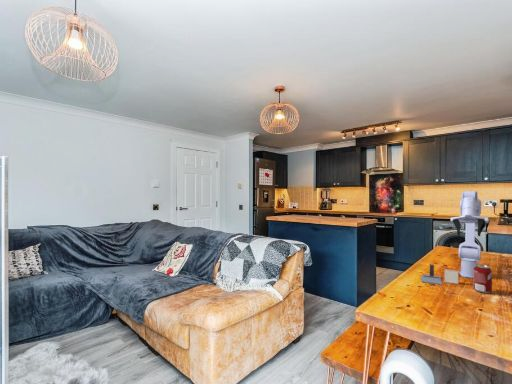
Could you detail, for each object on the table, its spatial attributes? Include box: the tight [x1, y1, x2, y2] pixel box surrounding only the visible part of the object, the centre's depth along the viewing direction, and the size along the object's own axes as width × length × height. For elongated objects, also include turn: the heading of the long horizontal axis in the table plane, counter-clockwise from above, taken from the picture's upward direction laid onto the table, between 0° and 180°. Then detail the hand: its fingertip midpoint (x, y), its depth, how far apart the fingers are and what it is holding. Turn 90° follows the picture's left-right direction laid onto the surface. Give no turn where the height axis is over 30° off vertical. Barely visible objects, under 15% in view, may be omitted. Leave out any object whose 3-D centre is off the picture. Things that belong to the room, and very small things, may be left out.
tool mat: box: [419, 275, 443, 286], centre depth 143 cm, size 9×9×1 cm
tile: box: [443, 268, 460, 285], centre depth 140 cm, size 2×6×6 cm, turn 63°
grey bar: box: [422, 264, 442, 280], centre depth 149 cm, size 3×8×7 cm, turn 63°
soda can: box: [472, 264, 493, 294], centre depth 129 cm, size 7×7×12 cm
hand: (468, 234), depth 129 cm, fingers open, 7 cm apart
